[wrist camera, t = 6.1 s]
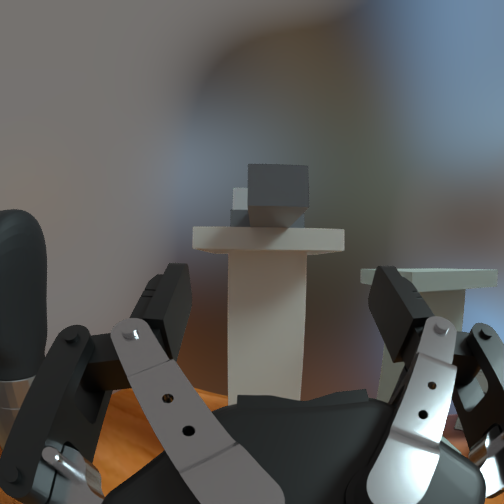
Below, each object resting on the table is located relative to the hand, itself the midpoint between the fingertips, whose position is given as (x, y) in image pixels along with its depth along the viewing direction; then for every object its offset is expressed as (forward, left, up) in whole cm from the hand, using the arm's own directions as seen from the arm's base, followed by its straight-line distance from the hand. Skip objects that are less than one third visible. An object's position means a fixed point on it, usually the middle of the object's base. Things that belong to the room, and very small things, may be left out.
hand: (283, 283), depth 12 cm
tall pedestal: (-4, +21, -28) cm, 35 cm away
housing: (-3, +15, +4) cm, 16 cm away
